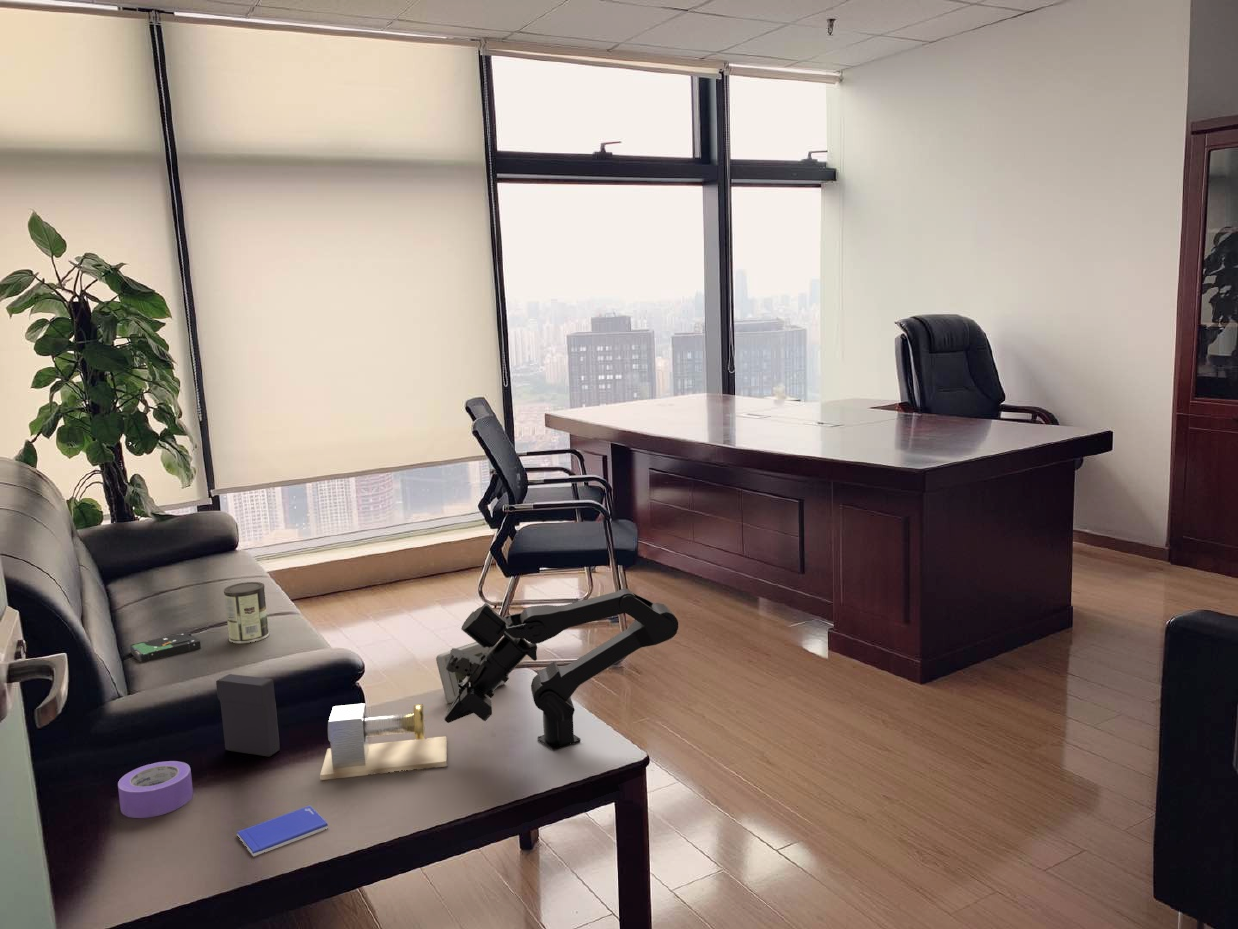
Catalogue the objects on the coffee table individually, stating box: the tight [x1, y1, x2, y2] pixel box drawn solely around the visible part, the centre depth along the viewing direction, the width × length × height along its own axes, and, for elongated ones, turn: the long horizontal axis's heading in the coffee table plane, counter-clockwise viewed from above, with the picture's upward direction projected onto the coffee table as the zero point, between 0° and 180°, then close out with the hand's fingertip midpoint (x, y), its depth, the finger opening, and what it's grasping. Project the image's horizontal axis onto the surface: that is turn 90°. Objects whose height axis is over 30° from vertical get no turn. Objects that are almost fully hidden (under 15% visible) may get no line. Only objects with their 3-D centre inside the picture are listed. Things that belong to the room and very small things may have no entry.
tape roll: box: [117, 760, 194, 819], centre depth 169 cm, size 12×12×5 cm
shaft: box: [327, 703, 426, 742], centre depth 181 cm, size 18×7×7 cm, turn 100°
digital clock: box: [435, 641, 506, 704], centre depth 213 cm, size 16×9×11 cm, turn 122°
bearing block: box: [328, 703, 369, 769], centre depth 180 cm, size 6×7×9 cm
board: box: [319, 736, 448, 781], centre depth 182 cm, size 23×11×1 cm, turn 100°
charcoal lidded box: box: [215, 673, 281, 757], centre depth 187 cm, size 11×4×15 cm, turn 71°
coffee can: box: [222, 581, 270, 644], centre depth 255 cm, size 10×10×14 cm
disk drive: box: [129, 631, 202, 663], centre depth 248 cm, size 10×3×15 cm
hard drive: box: [236, 805, 329, 857], centre depth 158 cm, size 2×8×12 cm
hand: (446, 721), depth 183 cm, fingers closed
